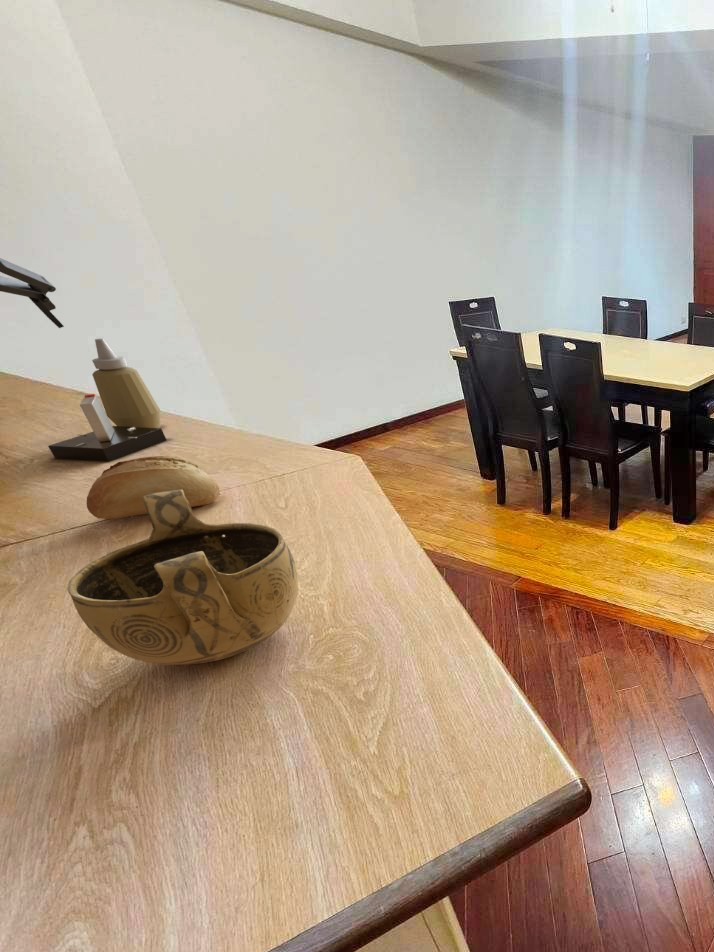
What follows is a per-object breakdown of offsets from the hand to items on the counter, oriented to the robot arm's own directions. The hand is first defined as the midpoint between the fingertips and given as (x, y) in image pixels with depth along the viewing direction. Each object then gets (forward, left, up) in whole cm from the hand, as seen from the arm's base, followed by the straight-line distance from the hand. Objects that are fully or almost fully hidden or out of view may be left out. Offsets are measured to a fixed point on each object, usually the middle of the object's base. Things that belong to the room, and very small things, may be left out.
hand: (9, 339), depth 100 cm
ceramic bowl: (+38, -79, -20) cm, 90 cm away
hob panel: (+6, -1, -20) cm, 21 cm away
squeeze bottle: (+7, +11, -20) cm, 24 cm away
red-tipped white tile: (+6, -1, -18) cm, 19 cm away
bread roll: (+22, -36, -20) cm, 47 cm away
